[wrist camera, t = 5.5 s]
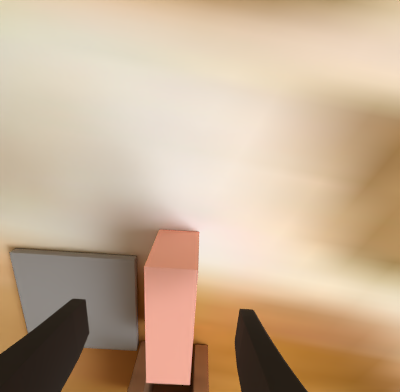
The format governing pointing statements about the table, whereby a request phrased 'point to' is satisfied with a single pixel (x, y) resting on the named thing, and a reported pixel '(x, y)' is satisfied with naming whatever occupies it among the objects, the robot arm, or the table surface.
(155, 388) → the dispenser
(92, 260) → the pad
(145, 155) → the table surface
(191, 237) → the pink eraser brick
